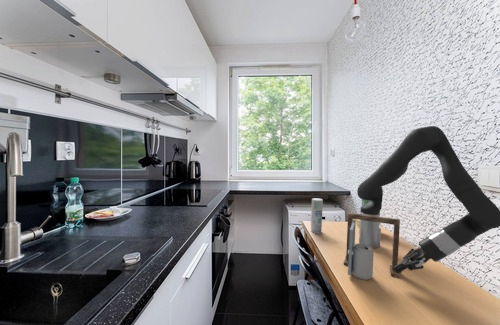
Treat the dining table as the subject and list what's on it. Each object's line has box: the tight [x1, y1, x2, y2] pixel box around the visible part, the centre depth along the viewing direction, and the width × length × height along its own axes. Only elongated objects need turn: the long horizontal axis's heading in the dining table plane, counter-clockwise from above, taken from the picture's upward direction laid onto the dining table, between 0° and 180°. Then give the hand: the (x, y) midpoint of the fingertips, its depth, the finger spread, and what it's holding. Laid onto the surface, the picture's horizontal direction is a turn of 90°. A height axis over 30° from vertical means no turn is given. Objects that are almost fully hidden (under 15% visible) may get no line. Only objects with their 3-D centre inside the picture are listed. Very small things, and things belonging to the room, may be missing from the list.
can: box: [351, 243, 375, 281], centre depth 93 cm, size 8×8×12 cm
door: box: [347, 220, 357, 276], centre depth 97 cm, size 14×2×18 cm, turn 151°
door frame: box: [343, 212, 401, 278], centre depth 100 cm, size 21×8×22 cm, turn 62°
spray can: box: [310, 197, 324, 234], centre depth 144 cm, size 6×6×20 cm
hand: (395, 270), depth 87 cm, fingers closed
